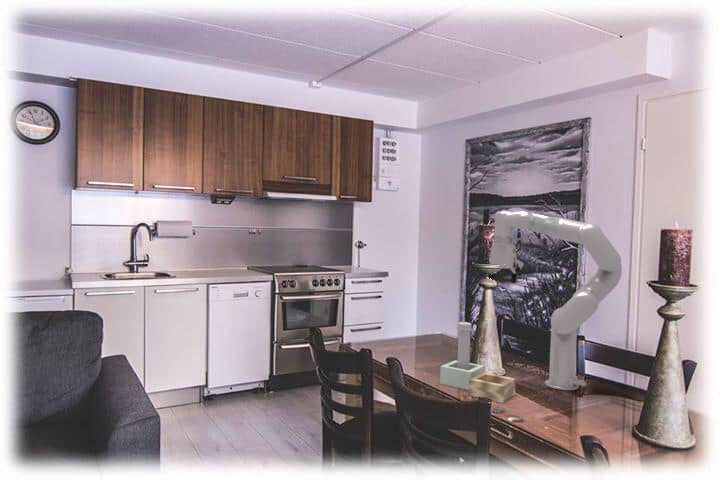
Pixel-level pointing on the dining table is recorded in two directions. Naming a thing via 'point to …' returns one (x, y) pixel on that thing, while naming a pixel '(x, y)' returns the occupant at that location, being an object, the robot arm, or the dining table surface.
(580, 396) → the dining table surface
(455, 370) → the holder block
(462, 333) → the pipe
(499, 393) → the oak collar
